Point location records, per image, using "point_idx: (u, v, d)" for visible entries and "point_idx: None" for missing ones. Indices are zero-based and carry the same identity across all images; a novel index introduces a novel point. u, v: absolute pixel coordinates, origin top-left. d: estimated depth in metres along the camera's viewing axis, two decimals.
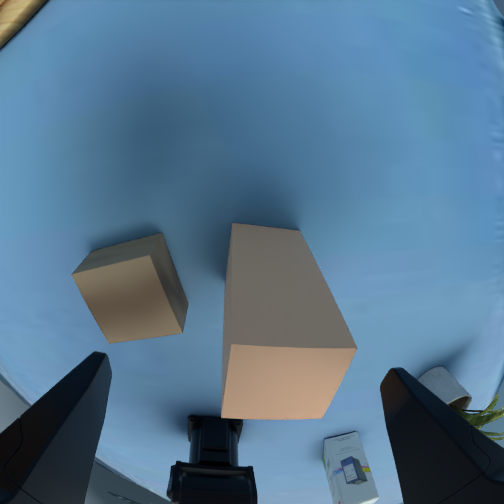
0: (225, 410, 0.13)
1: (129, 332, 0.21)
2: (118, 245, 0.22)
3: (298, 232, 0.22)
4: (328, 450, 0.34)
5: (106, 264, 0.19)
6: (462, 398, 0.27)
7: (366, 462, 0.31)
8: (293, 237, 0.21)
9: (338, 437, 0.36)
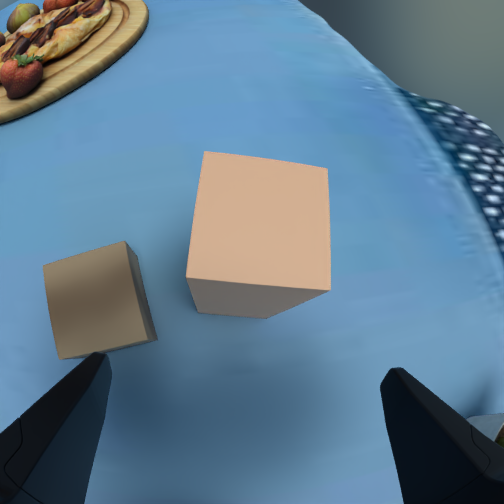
0: (191, 259, 0.10)
1: (85, 340, 0.17)
2: None
3: None
4: None
5: (80, 254, 0.18)
6: None
7: None
8: None
9: None
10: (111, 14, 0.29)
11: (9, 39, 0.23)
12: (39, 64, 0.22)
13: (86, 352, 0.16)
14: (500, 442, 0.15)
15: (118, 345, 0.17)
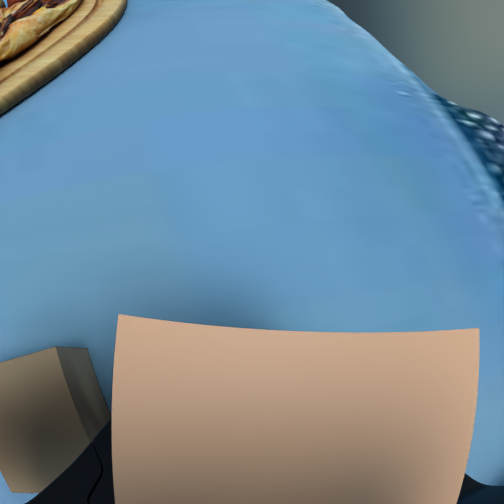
0: None
1: (35, 478, 0.08)
2: None
3: None
4: None
5: None
6: None
7: None
8: None
9: None
10: (82, 3, 0.21)
11: None
12: None
13: (39, 491, 0.08)
14: None
15: None
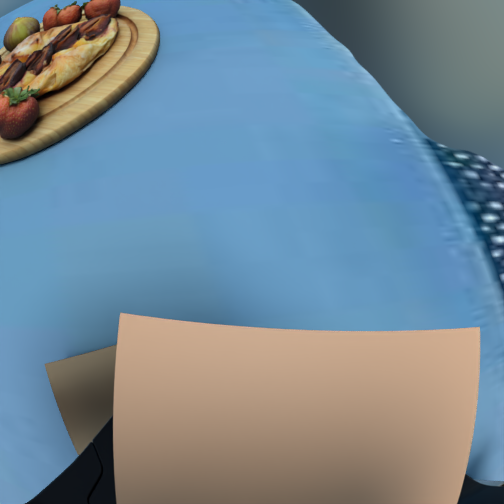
0: None
1: None
2: None
3: None
4: None
5: (82, 354, 0.16)
6: None
7: None
8: None
9: None
10: (117, 35, 0.28)
11: (4, 61, 0.22)
12: (34, 102, 0.20)
13: None
14: None
15: None
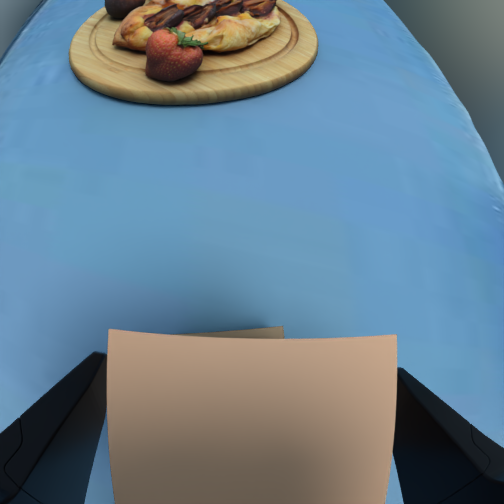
0: None
1: None
2: None
3: None
4: None
5: (224, 331, 0.17)
6: None
7: None
8: None
9: None
10: (277, 24, 0.30)
11: (154, 2, 0.25)
12: (202, 53, 0.22)
13: None
14: None
15: None
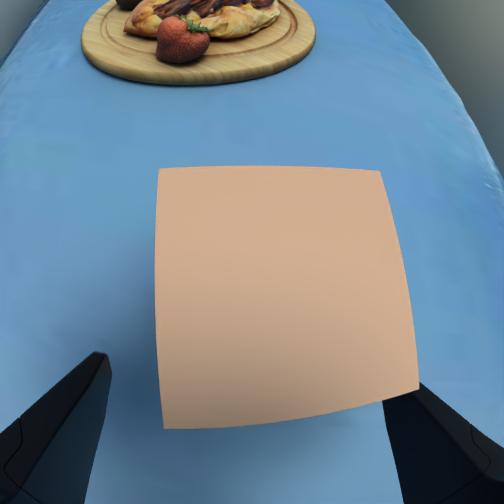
0: (167, 394, 0.05)
1: None
2: None
3: None
4: None
5: None
6: None
7: None
8: None
9: None
10: (277, 15, 0.32)
11: None
12: (209, 38, 0.24)
13: None
14: None
15: None
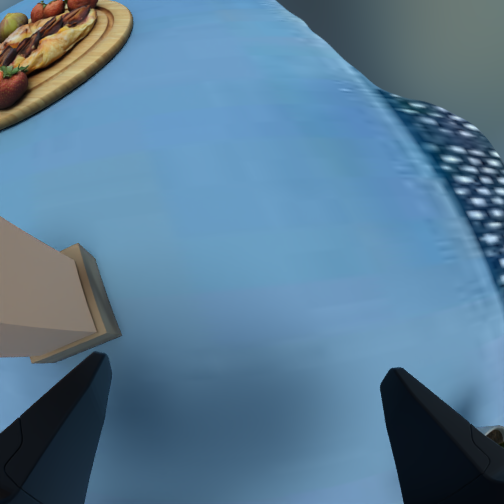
0: None
1: None
2: None
3: None
4: None
5: None
6: (495, 436, 0.16)
7: None
8: None
9: None
10: (96, 23, 0.30)
11: None
12: (24, 75, 0.21)
13: (54, 352, 0.16)
14: None
15: (81, 342, 0.17)
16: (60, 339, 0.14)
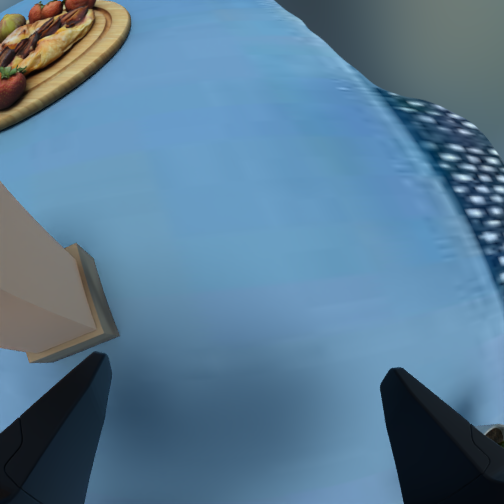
0: None
1: None
2: None
3: None
4: None
5: None
6: (495, 435, 0.16)
7: None
8: None
9: None
10: (94, 23, 0.29)
11: None
12: (22, 76, 0.21)
13: (52, 352, 0.16)
14: None
15: (78, 342, 0.17)
16: (62, 333, 0.14)
